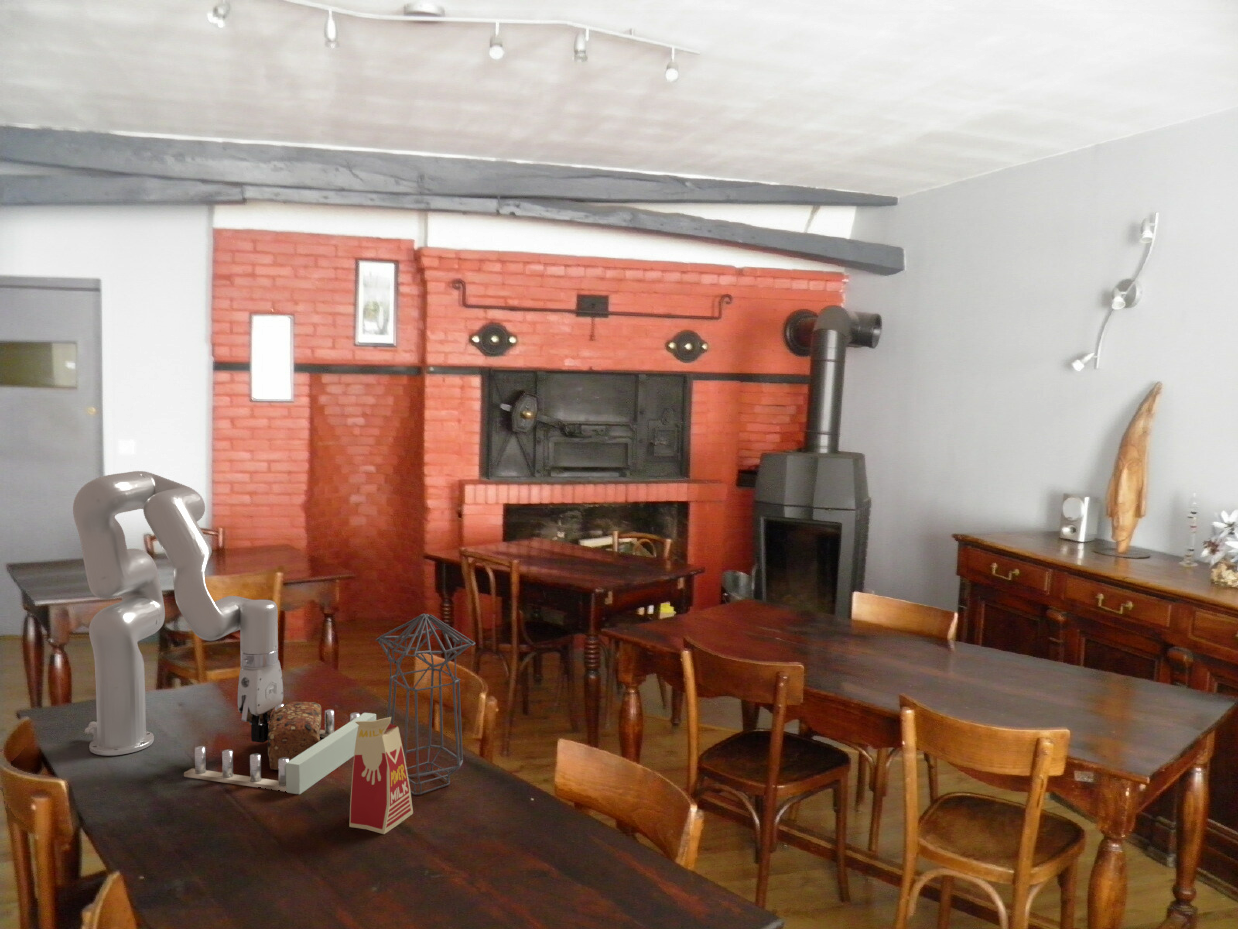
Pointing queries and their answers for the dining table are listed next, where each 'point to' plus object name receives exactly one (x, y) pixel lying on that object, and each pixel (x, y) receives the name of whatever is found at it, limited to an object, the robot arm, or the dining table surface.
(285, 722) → the bread
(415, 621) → the geometric lantern
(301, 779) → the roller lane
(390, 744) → the milk carton
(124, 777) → the dining table surface
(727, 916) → the dining table surface
